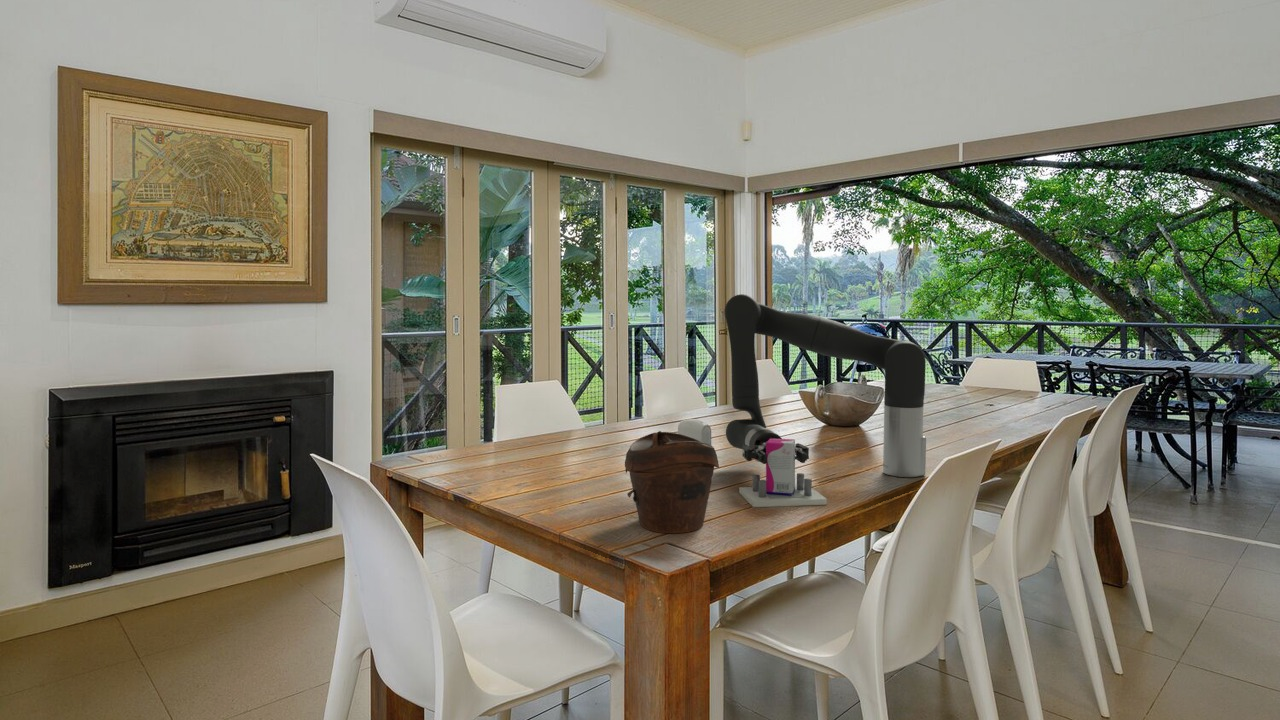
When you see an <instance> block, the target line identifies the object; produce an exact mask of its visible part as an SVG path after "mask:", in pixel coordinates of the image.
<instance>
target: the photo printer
mask: <svg viewBox="0 0 1280 720" xmlns="http://www.w3.org/2000/svg"><path fill="white" fill-rule="evenodd" d="M677 434H682V435H685V436H688V437H691V438H694V439H696V440H699V441H701V442H703V443H706V444H708V445H711V446H712V429H711V425H709V424H708V423H707V422H705V421H703V420H701V419H695V418H689V419H688V418H687V419H684V420H681V421H679V423H678V426H677Z"/></svg>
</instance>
